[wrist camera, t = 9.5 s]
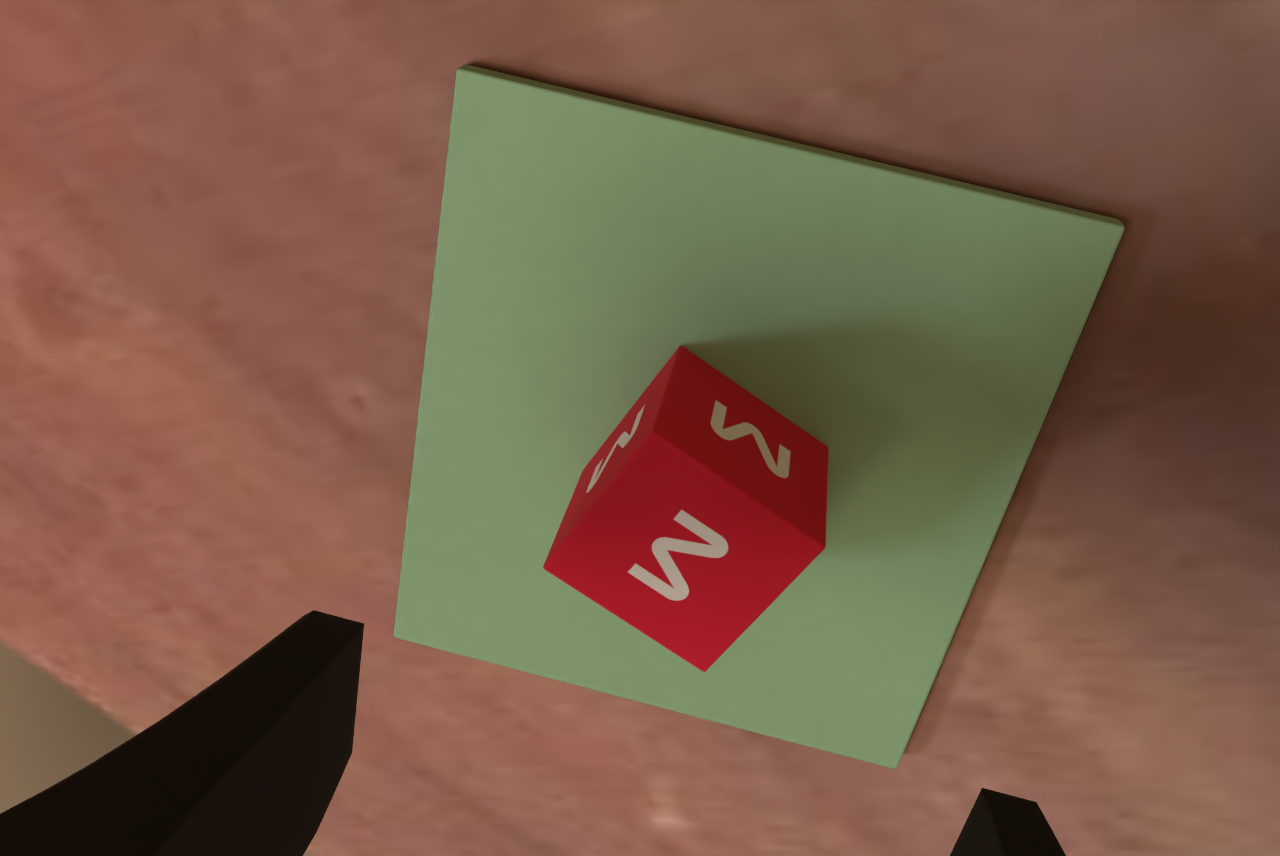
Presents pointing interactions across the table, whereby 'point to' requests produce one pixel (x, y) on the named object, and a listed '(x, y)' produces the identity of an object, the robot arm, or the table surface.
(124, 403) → the table surface
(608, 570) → the red letter cube
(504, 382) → the green square board
